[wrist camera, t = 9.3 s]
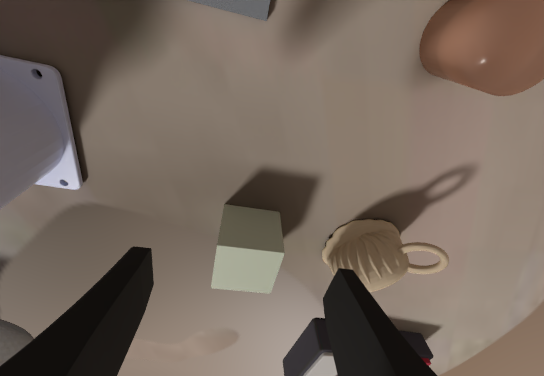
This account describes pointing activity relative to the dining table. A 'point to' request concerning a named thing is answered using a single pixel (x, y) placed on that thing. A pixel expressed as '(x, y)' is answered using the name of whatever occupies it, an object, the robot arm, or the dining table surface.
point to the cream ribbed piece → (376, 253)
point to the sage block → (248, 250)
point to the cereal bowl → (12, 340)
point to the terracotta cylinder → (487, 44)
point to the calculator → (318, 354)
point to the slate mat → (241, 7)
